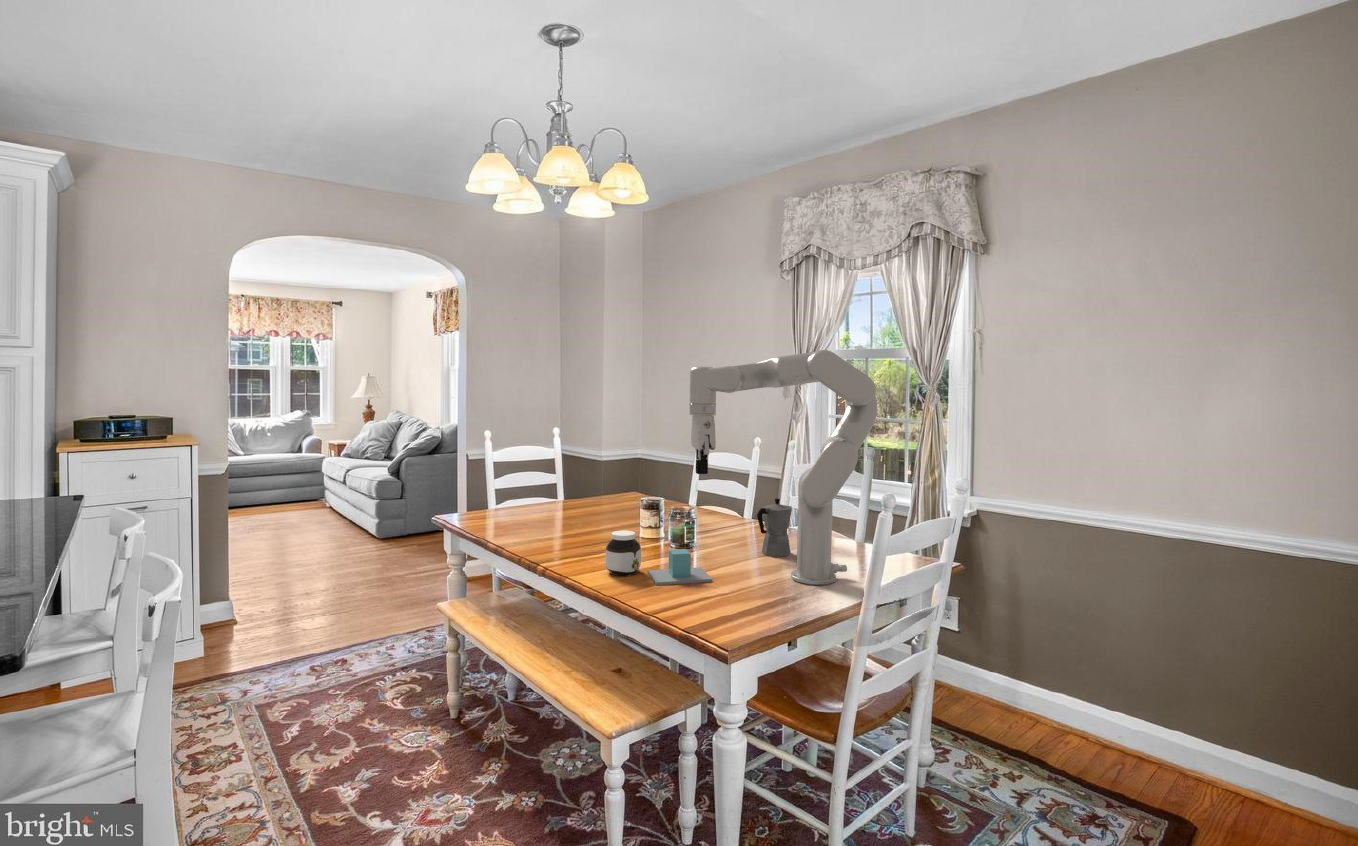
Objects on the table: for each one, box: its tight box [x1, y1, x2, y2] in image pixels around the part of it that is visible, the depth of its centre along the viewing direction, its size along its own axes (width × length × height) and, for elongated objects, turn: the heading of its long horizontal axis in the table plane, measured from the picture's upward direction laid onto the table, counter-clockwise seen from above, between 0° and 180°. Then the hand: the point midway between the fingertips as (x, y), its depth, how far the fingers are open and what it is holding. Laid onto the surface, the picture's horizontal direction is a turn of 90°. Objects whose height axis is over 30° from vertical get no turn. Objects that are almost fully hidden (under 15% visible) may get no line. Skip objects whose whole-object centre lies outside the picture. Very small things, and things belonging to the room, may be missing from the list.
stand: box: [647, 566, 713, 586], centre depth 199 cm, size 16×12×6 cm
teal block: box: [667, 548, 692, 578], centre depth 199 cm, size 5×5×7 cm
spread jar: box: [604, 530, 642, 577], centre depth 205 cm, size 12×11×12 cm
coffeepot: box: [756, 497, 793, 558], centre depth 226 cm, size 15×9×18 cm, turn 129°
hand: (701, 473), depth 202 cm, fingers closed
